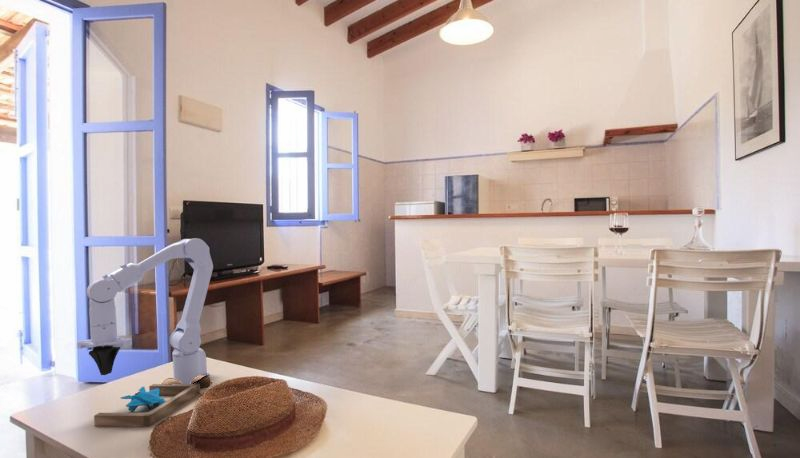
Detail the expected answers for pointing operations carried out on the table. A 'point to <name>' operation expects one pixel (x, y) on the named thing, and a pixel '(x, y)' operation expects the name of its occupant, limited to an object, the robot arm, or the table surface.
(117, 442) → the table surface
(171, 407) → the brown wooden u shape
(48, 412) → the table surface
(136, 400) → the toy airplane
